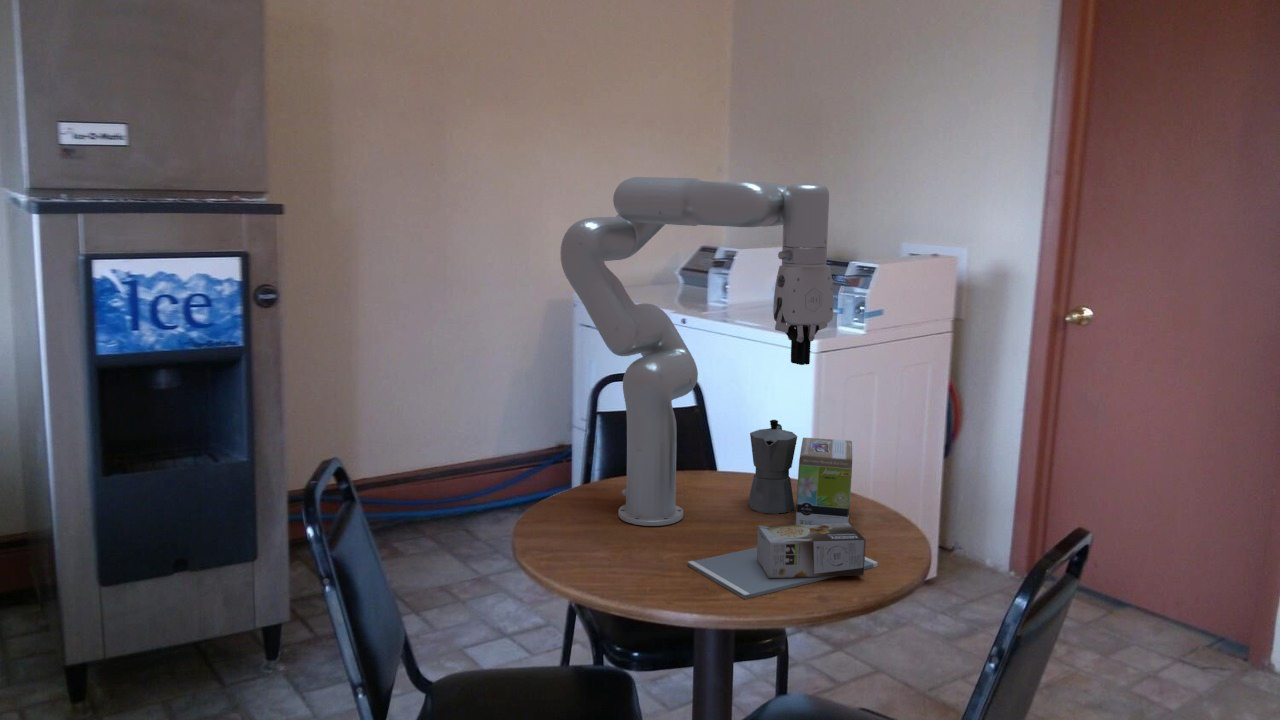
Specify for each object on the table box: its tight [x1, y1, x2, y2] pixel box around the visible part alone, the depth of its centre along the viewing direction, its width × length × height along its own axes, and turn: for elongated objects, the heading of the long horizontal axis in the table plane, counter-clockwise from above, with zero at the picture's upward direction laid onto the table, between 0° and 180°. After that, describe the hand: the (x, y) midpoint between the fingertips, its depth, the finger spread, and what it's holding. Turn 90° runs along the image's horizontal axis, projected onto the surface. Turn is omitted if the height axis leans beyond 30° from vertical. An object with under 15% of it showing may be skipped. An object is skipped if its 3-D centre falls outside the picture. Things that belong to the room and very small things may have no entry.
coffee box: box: [756, 522, 867, 578], centre depth 164 cm, size 9×6×16 cm
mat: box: [687, 546, 879, 600], centre depth 167 cm, size 16×28×1 cm, turn 121°
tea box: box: [795, 437, 853, 525], centre depth 190 cm, size 15×10×15 cm, turn 168°
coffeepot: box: [747, 419, 798, 515], centre depth 198 cm, size 15×9×18 cm, turn 165°
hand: (800, 363), depth 171 cm, fingers closed
